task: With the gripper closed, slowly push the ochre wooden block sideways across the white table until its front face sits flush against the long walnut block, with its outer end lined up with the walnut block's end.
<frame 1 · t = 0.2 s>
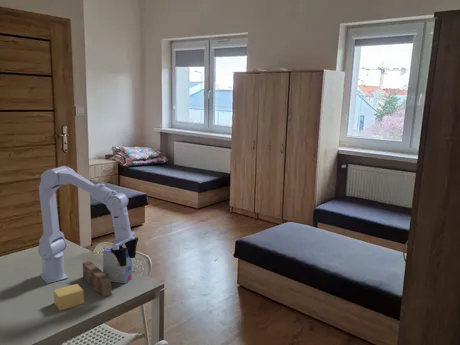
hand: (128, 261, 149), 10 cm above the table, tool pointing down, fingers open, 7 cm apart
walnut block: (96, 285, 152), on the table
ochre block: (69, 303, 139), on the table
ink cartridge box: (118, 280, 157), on the table
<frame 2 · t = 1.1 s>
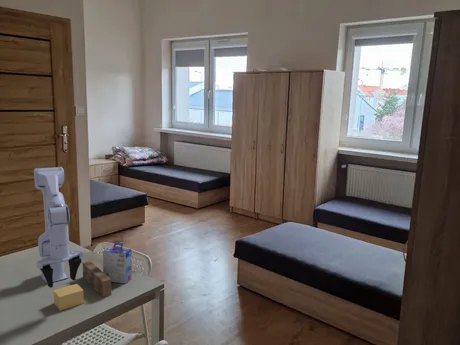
hand: (61, 282, 133), 10 cm above the table, tool pointing down, fingers open, 7 cm apart
nothing on the table moved.
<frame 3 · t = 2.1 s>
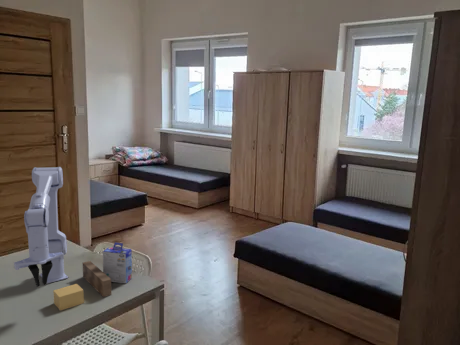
hand: (41, 284, 132), 9 cm above the table, tool pointing down, fingers closed
nothing on the table moved.
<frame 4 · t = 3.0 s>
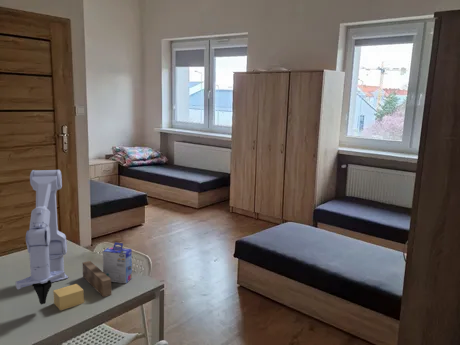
hand: (42, 302, 133), 3 cm above the table, tool pointing down, fingers closed
nothing on the table moved.
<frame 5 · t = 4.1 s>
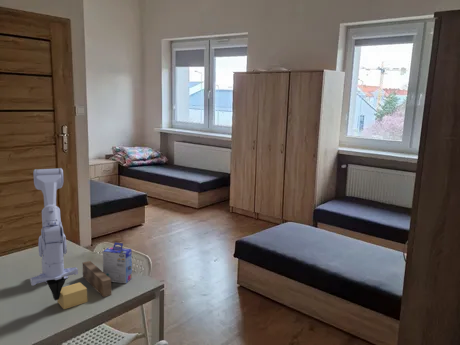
hand: (56, 298, 136), 3 cm above the table, tool pointing down, fingers closed
ochre block: (72, 302, 140), on the table, touching gripper
everything else where it was.
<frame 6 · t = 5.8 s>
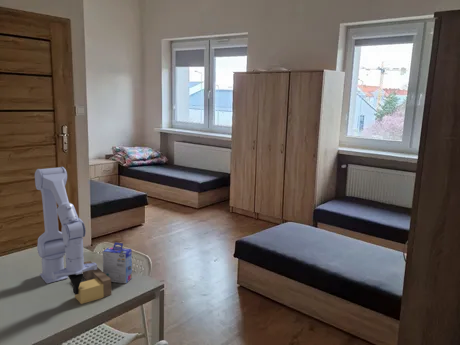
hand: (76, 293, 140), 3 cm above the table, tool pointing down, fingers closed, pressing on ochre block
ochre block: (89, 297, 143), on the table, touching gripper, walnut block
everything else where it was.
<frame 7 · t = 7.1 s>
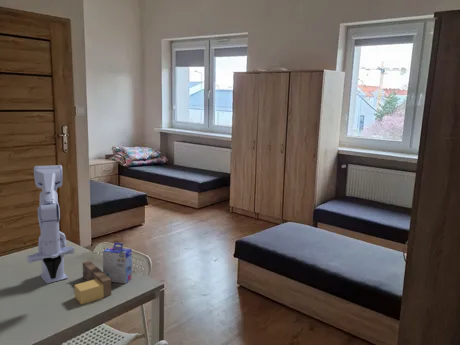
hand: (52, 277, 137), 9 cm above the table, tool pointing down, fingers closed
ochre block: (89, 297, 143), on the table
everything else where it was.
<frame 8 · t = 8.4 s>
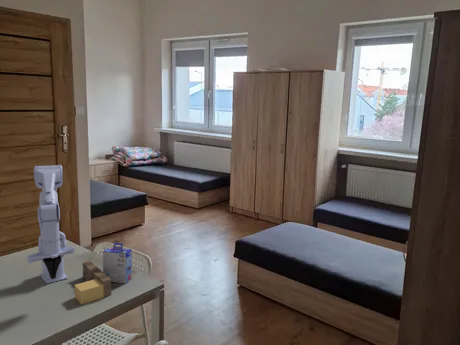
hand: (52, 277, 137), 9 cm above the table, tool pointing down, fingers closed
nothing on the table moved.
at the end: ochre block 0.3 cm from the target spot on the table beside the walnut block, on the table; ochre block tilted 0° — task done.
